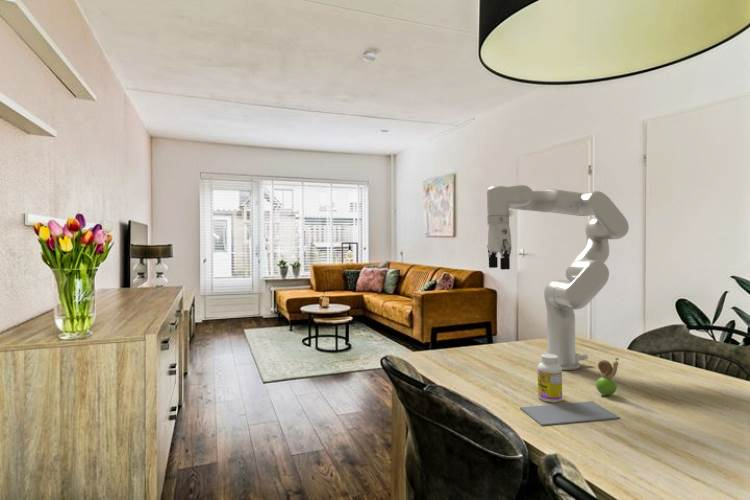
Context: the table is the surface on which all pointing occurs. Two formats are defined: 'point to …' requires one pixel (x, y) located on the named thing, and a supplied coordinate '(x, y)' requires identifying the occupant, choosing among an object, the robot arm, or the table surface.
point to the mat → (568, 413)
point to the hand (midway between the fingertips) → (499, 268)
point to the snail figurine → (607, 377)
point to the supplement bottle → (549, 379)
